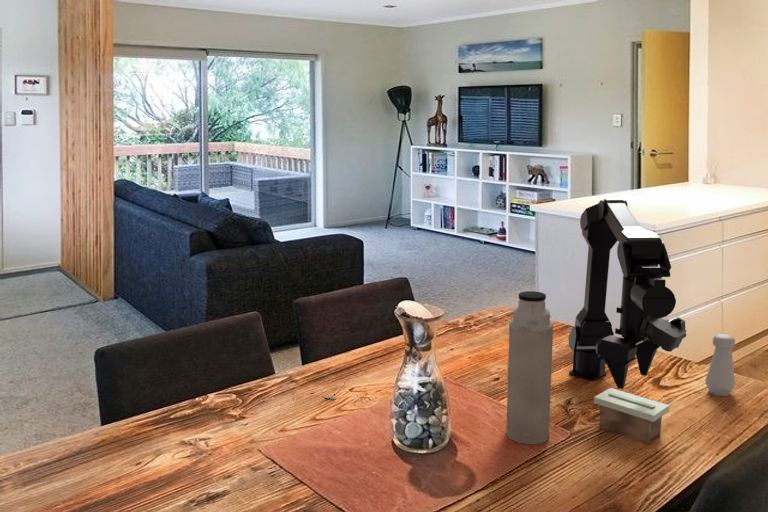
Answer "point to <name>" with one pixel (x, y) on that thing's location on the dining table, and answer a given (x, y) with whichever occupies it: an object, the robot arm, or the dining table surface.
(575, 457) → the dining table surface
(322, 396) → the fork
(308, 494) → the dining table surface
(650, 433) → the box
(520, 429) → the thermos bottle
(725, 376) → the salt shaker
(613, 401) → the lid
